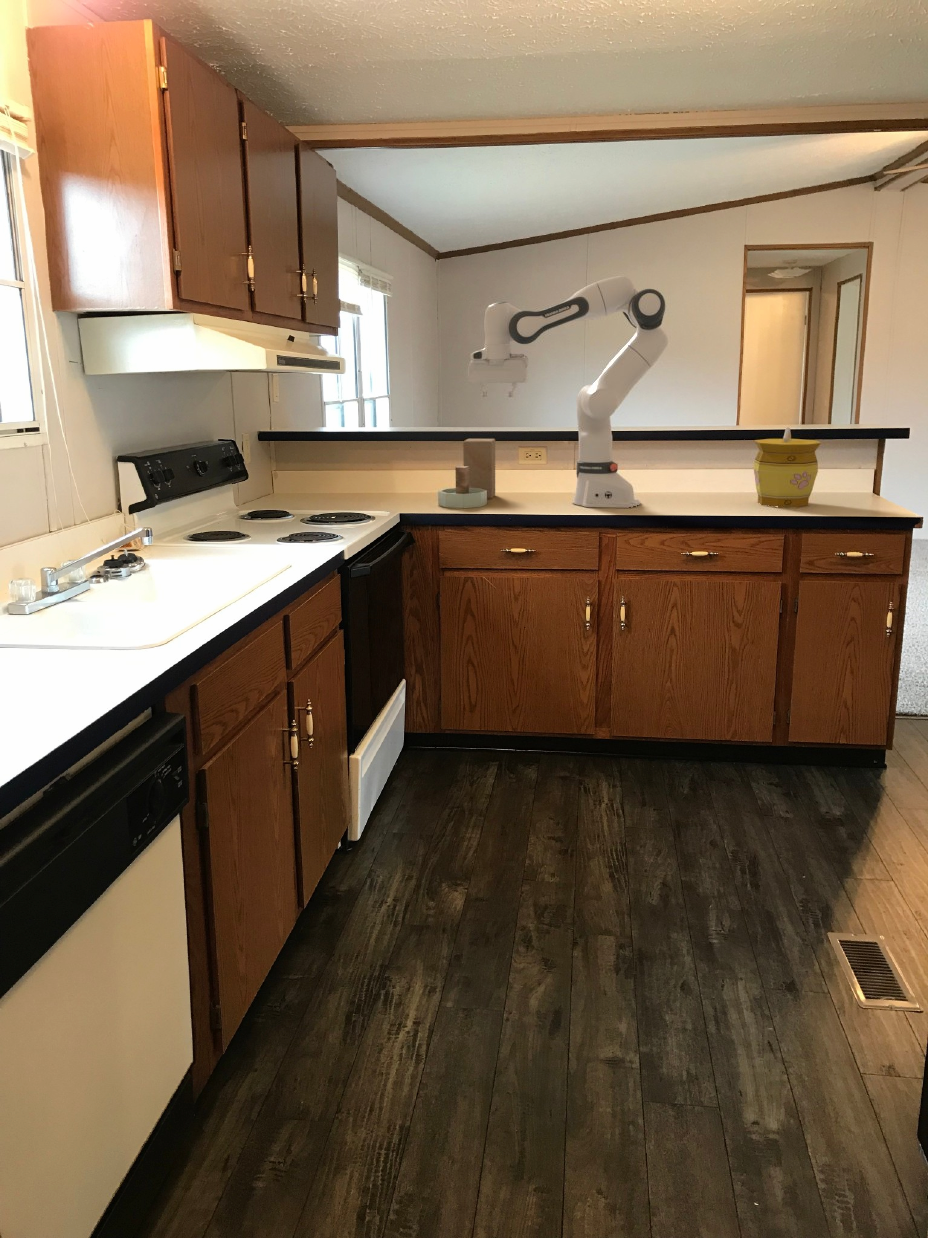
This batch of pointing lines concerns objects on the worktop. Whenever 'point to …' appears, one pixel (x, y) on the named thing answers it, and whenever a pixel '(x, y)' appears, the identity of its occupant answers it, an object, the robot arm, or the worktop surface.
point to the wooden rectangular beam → (462, 479)
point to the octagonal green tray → (462, 498)
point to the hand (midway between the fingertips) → (497, 396)
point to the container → (785, 471)
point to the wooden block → (480, 464)
